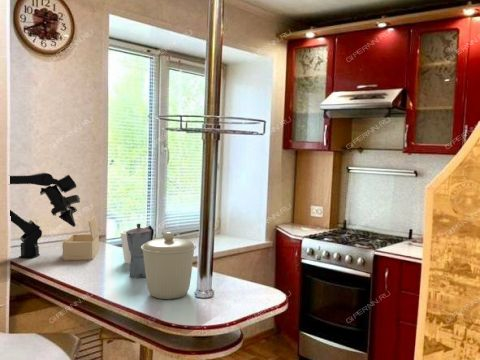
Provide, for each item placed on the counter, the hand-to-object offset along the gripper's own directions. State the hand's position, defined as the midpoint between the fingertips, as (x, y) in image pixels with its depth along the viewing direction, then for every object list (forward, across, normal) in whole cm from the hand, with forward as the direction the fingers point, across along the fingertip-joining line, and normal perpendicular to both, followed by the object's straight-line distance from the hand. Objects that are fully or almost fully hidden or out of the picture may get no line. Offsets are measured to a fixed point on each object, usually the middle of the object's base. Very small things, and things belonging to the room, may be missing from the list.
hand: (74, 226), depth 204 cm
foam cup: (+29, -10, -14) cm, 33 cm away
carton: (+13, +2, +5) cm, 14 cm away
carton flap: (+5, 0, -6) cm, 8 cm away
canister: (+47, -53, -25) cm, 75 cm away
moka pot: (+36, -29, -17) cm, 49 cm away
